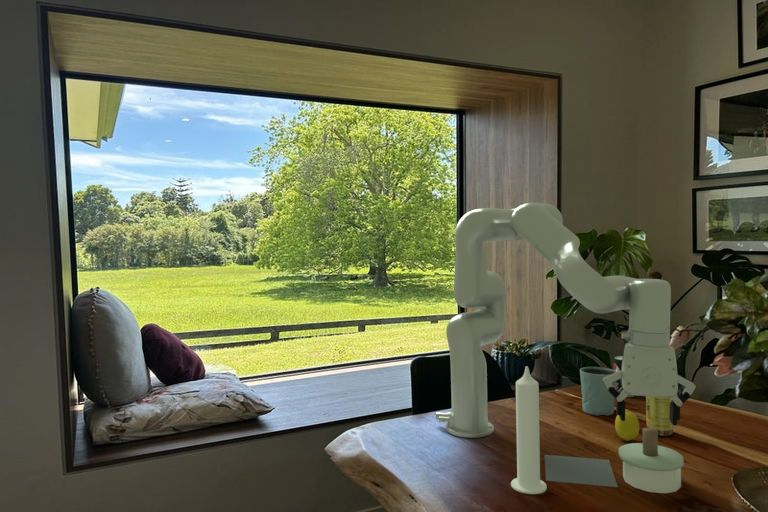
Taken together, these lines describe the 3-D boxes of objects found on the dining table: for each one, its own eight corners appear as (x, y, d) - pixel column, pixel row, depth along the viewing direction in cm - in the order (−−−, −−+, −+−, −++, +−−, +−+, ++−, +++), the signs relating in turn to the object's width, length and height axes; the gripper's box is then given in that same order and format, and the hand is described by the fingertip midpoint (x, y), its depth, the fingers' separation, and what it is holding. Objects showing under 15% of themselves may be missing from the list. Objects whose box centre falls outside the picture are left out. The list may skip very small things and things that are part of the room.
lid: (623, 468, 107) (623, 438, 107) (614, 445, 119) (614, 418, 119) (691, 473, 104) (690, 442, 104) (674, 450, 116) (674, 422, 116)
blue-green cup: (573, 408, 162) (572, 368, 162) (601, 404, 165) (600, 365, 165) (596, 418, 152) (595, 376, 152) (625, 414, 155) (625, 372, 155)
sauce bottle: (649, 427, 144) (649, 353, 144) (675, 431, 140) (675, 355, 140) (643, 434, 139) (642, 357, 139) (670, 439, 135) (669, 360, 135)
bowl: (628, 491, 108) (627, 466, 108) (620, 470, 118) (620, 447, 118) (686, 497, 105) (686, 471, 105) (672, 474, 115) (672, 451, 115)
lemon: (642, 446, 131) (641, 413, 131) (617, 445, 132) (617, 412, 132) (636, 438, 137) (635, 406, 136) (612, 436, 138) (612, 405, 137)
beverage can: (613, 391, 179) (613, 355, 178) (635, 393, 176) (635, 356, 176) (614, 396, 172) (613, 359, 172) (637, 398, 170) (636, 360, 170)
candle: (540, 479, 114) (538, 362, 114) (551, 495, 107) (549, 370, 107) (507, 480, 114) (505, 363, 113) (516, 496, 107) (514, 371, 106)
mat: (545, 482, 113) (545, 480, 113) (544, 456, 126) (544, 454, 126) (618, 489, 109) (618, 487, 109) (608, 461, 123) (608, 459, 123)
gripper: (606, 340, 110) (604, 423, 110) (701, 345, 105) (699, 431, 106) (601, 333, 117) (600, 411, 118) (690, 337, 112) (688, 418, 113)
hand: (647, 421), depth 112 cm, fingers open, 9 cm apart
